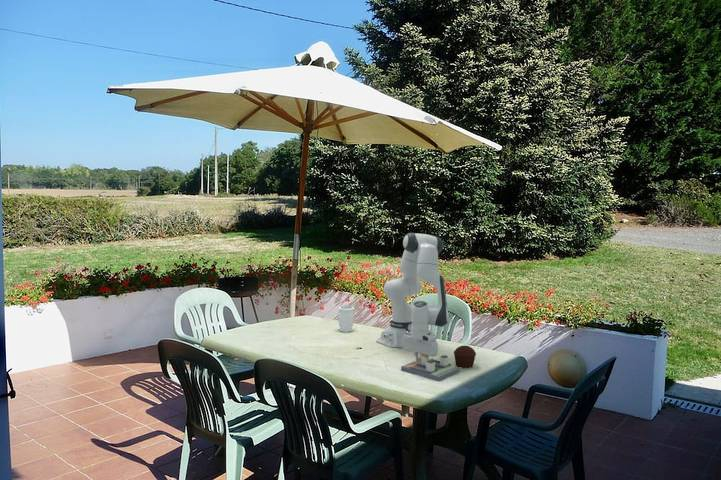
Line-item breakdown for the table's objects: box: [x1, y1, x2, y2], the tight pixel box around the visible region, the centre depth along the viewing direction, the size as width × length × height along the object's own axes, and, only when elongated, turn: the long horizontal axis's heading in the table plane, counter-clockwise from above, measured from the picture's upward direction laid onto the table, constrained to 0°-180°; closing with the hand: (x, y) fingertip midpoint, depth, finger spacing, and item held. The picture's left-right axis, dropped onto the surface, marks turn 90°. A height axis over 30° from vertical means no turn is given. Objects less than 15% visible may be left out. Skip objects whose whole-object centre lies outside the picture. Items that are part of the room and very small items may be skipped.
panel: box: [400, 358, 461, 382], centre depth 260 cm, size 22×19×3 cm
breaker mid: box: [420, 354, 431, 366], centre depth 262 cm, size 3×3×5 cm
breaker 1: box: [426, 359, 435, 372], centre depth 253 cm, size 3×3×5 cm
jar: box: [337, 305, 355, 333], centre depth 336 cm, size 11×10×15 cm
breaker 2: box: [439, 354, 450, 366], centre depth 261 cm, size 3×3×5 cm
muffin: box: [453, 345, 477, 369], centre depth 269 cm, size 12×11×10 cm
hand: (418, 361), depth 264 cm, fingers closed
